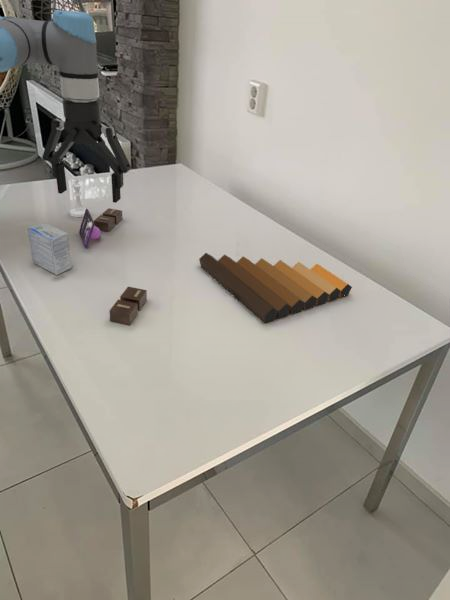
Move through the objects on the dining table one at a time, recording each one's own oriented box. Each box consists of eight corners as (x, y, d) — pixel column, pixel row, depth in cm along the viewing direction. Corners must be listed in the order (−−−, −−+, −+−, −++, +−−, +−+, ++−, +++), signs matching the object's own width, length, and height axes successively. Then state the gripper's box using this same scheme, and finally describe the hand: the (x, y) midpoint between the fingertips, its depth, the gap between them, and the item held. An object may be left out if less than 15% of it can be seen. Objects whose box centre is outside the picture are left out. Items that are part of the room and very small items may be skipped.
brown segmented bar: (109, 321, 86) (109, 309, 84) (128, 296, 93) (128, 285, 92) (129, 325, 85) (129, 314, 84) (146, 300, 92) (146, 289, 91)
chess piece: (92, 212, 125) (89, 177, 120) (80, 218, 121) (77, 182, 116) (78, 208, 127) (74, 173, 121) (65, 214, 123) (62, 178, 117)
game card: (83, 207, 111) (89, 222, 105) (103, 212, 114) (111, 227, 108) (75, 231, 114) (82, 247, 107) (96, 236, 117) (103, 252, 110)
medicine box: (72, 268, 100) (69, 233, 95) (56, 276, 97) (51, 239, 92) (49, 256, 103) (44, 221, 98) (32, 263, 100) (26, 227, 95)
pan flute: (198, 266, 106) (262, 324, 89) (199, 254, 104) (265, 310, 87) (280, 247, 118) (349, 294, 102) (282, 235, 117) (353, 282, 100)
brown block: (94, 229, 117) (93, 220, 115) (108, 216, 124) (108, 207, 123) (108, 232, 116) (108, 222, 115) (122, 219, 124) (122, 210, 122)
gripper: (144, 103, 96) (145, 198, 107) (36, 88, 99) (48, 182, 111) (130, 109, 89) (133, 210, 101) (15, 93, 93) (31, 193, 104)
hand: (89, 196), depth 106 cm, fingers open, 13 cm apart
